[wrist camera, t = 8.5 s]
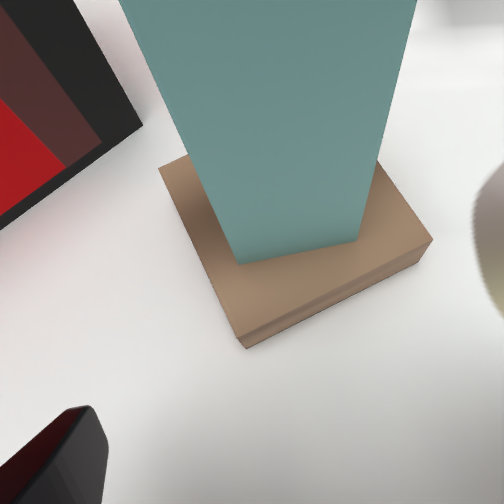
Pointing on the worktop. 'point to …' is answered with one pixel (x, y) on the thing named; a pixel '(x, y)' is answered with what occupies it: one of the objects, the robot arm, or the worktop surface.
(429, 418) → the worktop surface
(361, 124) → the teal block
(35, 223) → the worktop surface
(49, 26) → the cleaning product box
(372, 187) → the walnut slab
